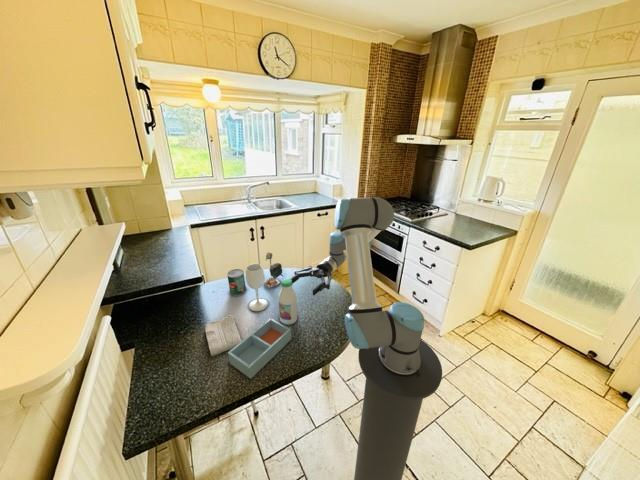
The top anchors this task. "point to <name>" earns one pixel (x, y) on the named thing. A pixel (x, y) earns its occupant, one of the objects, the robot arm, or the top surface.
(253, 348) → the divided tray
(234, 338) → the washcloth
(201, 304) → the top surface
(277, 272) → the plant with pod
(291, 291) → the milk bottle
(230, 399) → the top surface
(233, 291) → the canned tomato
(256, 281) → the wineglass
